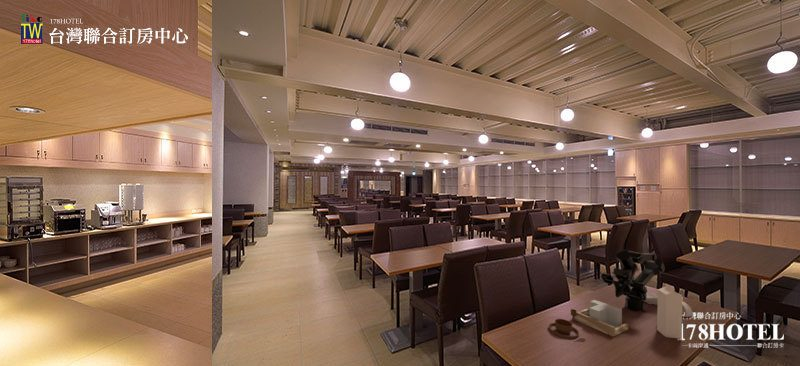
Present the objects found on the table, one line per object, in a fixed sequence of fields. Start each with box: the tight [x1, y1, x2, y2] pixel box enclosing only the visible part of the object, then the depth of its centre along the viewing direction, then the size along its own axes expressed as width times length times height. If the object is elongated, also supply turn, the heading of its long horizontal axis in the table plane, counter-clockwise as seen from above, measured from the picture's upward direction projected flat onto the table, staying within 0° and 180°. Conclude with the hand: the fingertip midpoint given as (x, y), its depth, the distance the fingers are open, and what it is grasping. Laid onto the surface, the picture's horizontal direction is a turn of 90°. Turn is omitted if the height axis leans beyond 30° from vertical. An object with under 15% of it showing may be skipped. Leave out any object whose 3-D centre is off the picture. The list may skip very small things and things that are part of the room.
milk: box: [656, 283, 683, 340], centre depth 127 cm, size 6×6×22 cm
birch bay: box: [571, 308, 629, 337], centre depth 136 cm, size 13×18×4 cm
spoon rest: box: [643, 292, 694, 318], centre depth 155 cm, size 24×12×7 cm, turn 16°
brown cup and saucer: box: [548, 308, 586, 343], centre depth 130 cm, size 18×20×6 cm
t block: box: [589, 299, 623, 328], centre depth 137 cm, size 12×12×8 cm
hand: (616, 296), depth 143 cm, fingers closed
